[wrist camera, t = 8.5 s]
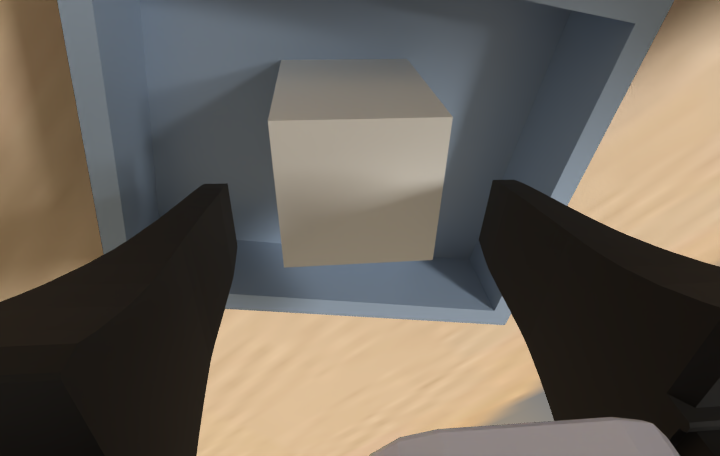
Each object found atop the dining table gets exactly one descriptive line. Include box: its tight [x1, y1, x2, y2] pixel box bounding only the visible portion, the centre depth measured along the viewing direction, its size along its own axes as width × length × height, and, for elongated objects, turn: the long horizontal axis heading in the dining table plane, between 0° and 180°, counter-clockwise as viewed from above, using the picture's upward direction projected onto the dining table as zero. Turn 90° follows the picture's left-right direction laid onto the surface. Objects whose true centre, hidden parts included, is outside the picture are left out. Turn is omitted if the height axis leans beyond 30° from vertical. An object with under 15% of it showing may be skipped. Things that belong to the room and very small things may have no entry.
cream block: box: [268, 59, 453, 268], centre depth 14 cm, size 4×4×6 cm
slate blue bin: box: [57, 0, 674, 325], centre depth 16 cm, size 16×13×4 cm
